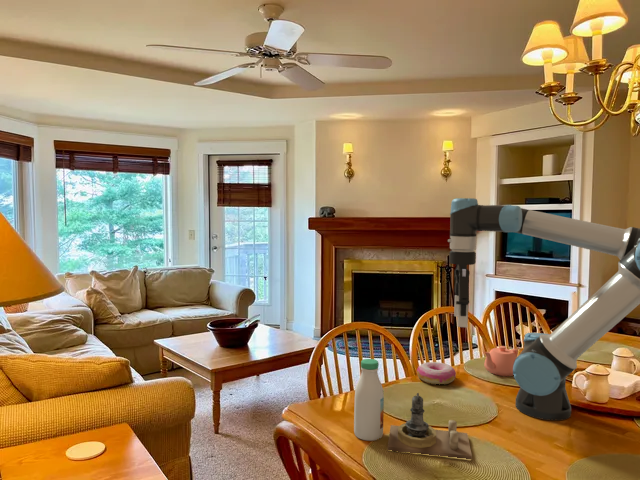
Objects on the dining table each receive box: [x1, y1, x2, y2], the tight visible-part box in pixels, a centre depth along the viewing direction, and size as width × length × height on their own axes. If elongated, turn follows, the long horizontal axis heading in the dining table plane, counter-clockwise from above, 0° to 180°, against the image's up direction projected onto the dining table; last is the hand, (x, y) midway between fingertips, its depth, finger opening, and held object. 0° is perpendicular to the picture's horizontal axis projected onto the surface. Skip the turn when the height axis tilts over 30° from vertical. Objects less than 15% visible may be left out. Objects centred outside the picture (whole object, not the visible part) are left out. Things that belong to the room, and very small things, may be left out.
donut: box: [416, 361, 457, 386], centre depth 168 cm, size 14×13×5 cm
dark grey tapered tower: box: [405, 392, 430, 438], centre depth 121 cm, size 6×6×12 cm
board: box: [387, 419, 473, 460], centre depth 121 cm, size 20×12×5 cm, turn 78°
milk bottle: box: [353, 358, 385, 442], centre depth 125 cm, size 8×8×20 cm
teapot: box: [483, 345, 519, 377], centre depth 176 cm, size 12×18×10 cm
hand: (460, 321), depth 141 cm, fingers open, 13 cm apart
